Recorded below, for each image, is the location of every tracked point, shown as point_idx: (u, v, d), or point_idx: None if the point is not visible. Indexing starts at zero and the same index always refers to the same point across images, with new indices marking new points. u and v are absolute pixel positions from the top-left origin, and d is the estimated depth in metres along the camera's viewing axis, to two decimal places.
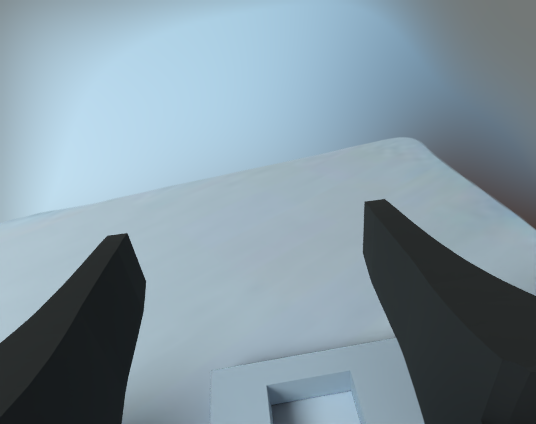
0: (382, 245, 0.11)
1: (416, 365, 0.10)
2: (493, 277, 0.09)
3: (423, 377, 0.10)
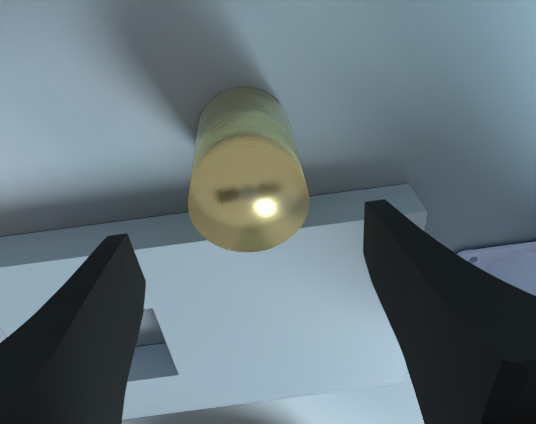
0: (382, 245, 0.11)
1: (416, 365, 0.10)
2: (493, 277, 0.09)
3: (423, 377, 0.10)
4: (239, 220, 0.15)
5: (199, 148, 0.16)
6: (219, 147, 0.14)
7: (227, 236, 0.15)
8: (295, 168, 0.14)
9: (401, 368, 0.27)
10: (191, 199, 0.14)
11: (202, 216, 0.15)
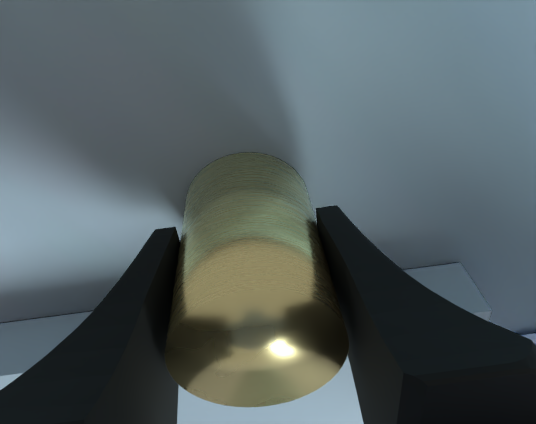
0: (329, 252, 0.11)
1: (357, 373, 0.10)
2: (423, 286, 0.09)
3: (361, 385, 0.10)
4: (244, 372, 0.10)
5: (184, 259, 0.11)
6: (213, 275, 0.09)
7: (225, 390, 0.10)
8: (330, 309, 0.09)
9: None
10: (170, 352, 0.09)
11: (188, 370, 0.10)
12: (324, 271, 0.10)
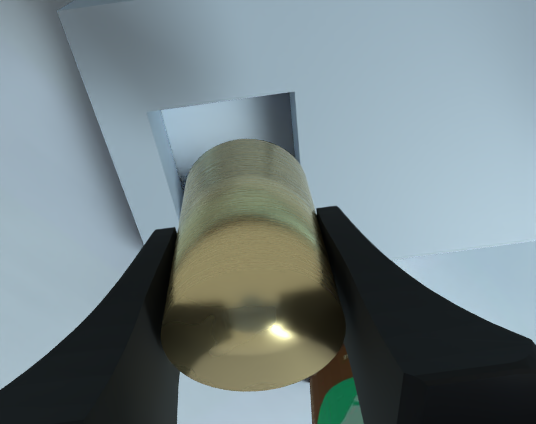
0: (329, 252, 0.11)
1: (357, 373, 0.10)
2: (422, 286, 0.09)
3: (362, 385, 0.10)
4: (237, 354, 0.10)
5: (187, 235, 0.11)
6: (220, 251, 0.09)
7: (215, 371, 0.10)
8: (333, 296, 0.09)
9: None
10: (167, 325, 0.09)
11: (182, 346, 0.10)
12: (326, 261, 0.10)
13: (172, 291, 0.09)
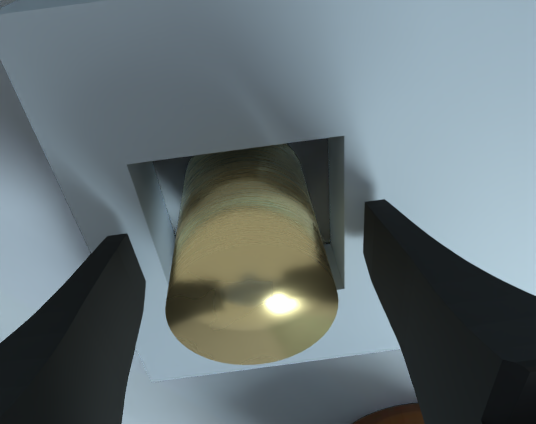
0: (382, 245, 0.11)
1: (416, 365, 0.10)
2: (493, 277, 0.09)
3: (423, 377, 0.10)
4: (237, 327, 0.11)
5: (189, 217, 0.11)
6: (220, 229, 0.10)
7: (216, 345, 0.11)
8: (326, 271, 0.10)
9: None
10: (171, 299, 0.10)
11: (185, 320, 0.10)
12: (320, 240, 0.11)
13: (176, 268, 0.10)
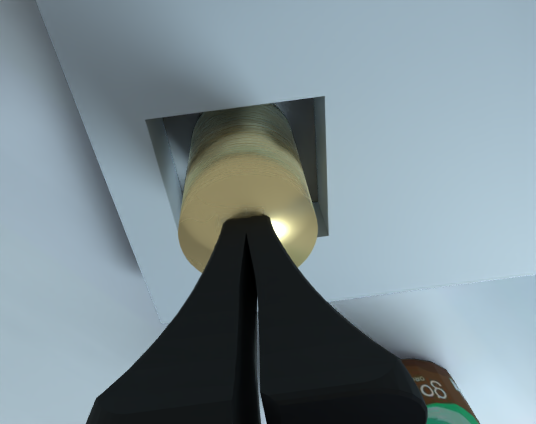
0: None
1: None
2: (320, 300, 0.09)
3: None
4: None
5: (196, 162, 0.14)
6: (222, 166, 0.12)
7: None
8: (307, 199, 0.12)
9: None
10: (183, 222, 0.12)
11: (194, 241, 0.13)
12: (304, 180, 0.14)
13: (186, 197, 0.12)
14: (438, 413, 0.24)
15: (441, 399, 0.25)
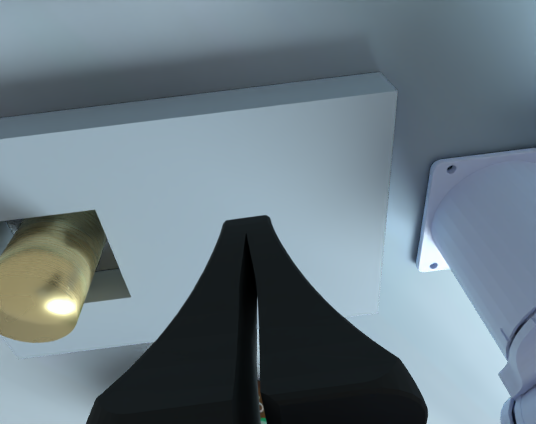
0: None
1: None
2: (320, 300, 0.09)
3: None
4: (21, 321, 0.19)
5: None
6: (3, 267, 0.18)
7: (12, 331, 0.19)
8: (61, 290, 0.18)
9: (375, 295, 0.25)
10: None
11: None
12: (73, 271, 0.19)
13: None
14: None
15: None
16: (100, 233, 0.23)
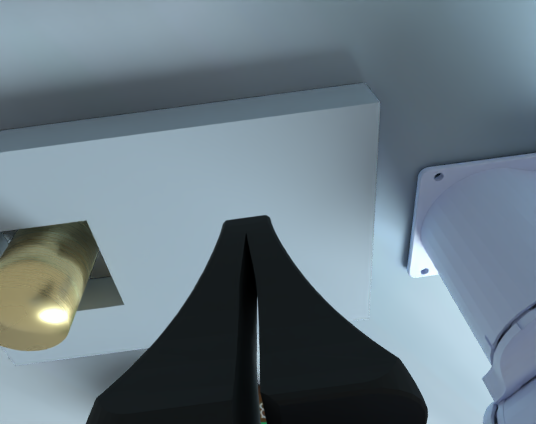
0: None
1: None
2: (320, 300, 0.09)
3: None
4: (14, 329, 0.19)
5: None
6: None
7: (6, 339, 0.20)
8: (52, 300, 0.19)
9: (365, 301, 0.25)
10: None
11: None
12: (65, 281, 0.20)
13: None
14: None
15: (263, 418, 0.32)
16: (93, 242, 0.23)
